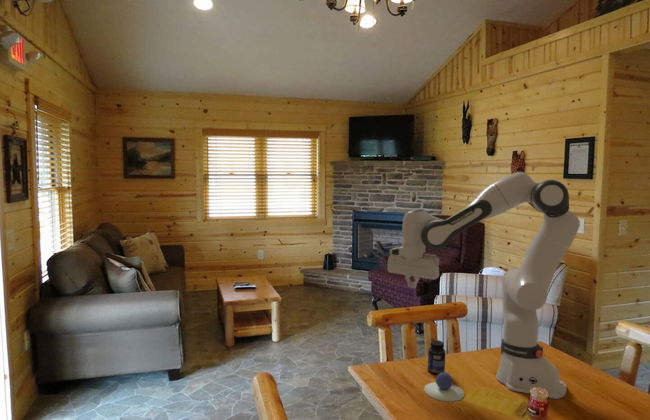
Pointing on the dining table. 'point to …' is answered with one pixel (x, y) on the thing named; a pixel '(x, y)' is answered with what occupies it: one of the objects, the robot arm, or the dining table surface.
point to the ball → (444, 381)
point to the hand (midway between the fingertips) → (412, 287)
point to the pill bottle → (436, 357)
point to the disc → (444, 392)
